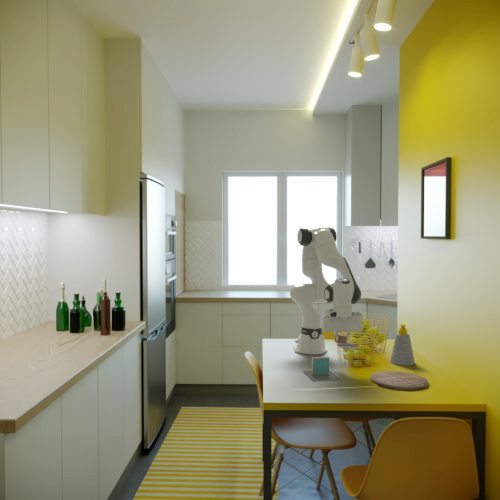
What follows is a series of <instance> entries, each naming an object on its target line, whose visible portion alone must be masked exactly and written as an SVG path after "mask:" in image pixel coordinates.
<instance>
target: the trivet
mask: <svg viewBox="0 0 500 500" xmlns="http://www.w3.org/2000/svg"><path fill="white" fill-rule="evenodd" d="M369 379H370V381H371V382H372V383H374V384H376V385H377V386H378V387H380V386H381V387H382V388H384V387H385V389H389V388H390V389H389V390H394V389H396V390H395V391H408V392H409V391H419V390H423V389H424V390H425V389H426V388H428V386H429V380H428V379H427V378H425V376H422V375H419V374H416V373H411V372H404V371H394V370H392V371H391V370H388V371H387V370H386V371H385V370H384V371H383V370H382V371H376V372H374V373H372V374H370V377H369Z"/></svg>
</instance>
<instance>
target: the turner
mask: <svg viewBox="0 0 500 500" xmlns="http://www.w3.org/2000/svg"><path fill="white" fill-rule="evenodd" d="M337 335H338V337H340V341H336V336H335V335H334V342H335V343H336V345H337V346H338V347H339V348H341V349H343V350H346V351H347V350H359V346H358V345H356V344H354V343H352V342H347V337H346V335H345V334H342V333H341V332H338V334H337Z"/></svg>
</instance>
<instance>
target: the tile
mask: <svg viewBox="0 0 500 500" xmlns="http://www.w3.org/2000/svg"><path fill="white" fill-rule="evenodd" d="M329 370H330V357H329V356H315V357H313V356H312V357H311V371H312V375H329Z"/></svg>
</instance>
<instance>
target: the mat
mask: <svg viewBox="0 0 500 500" xmlns="http://www.w3.org/2000/svg"><path fill="white" fill-rule="evenodd" d="M301 372H302V373H303V374H304V375H305V376H306V377H307V378H308V379H309V380H310V381H312V383H317V382H318V383H319V382H321V383H322V382H339V381H340V382H342V381H344V380H343V379H342V378H340V377H339V376H338V375H337V374H335V373H334V372H332V371H331V370H330V369H329V375H312V370H301Z"/></svg>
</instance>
